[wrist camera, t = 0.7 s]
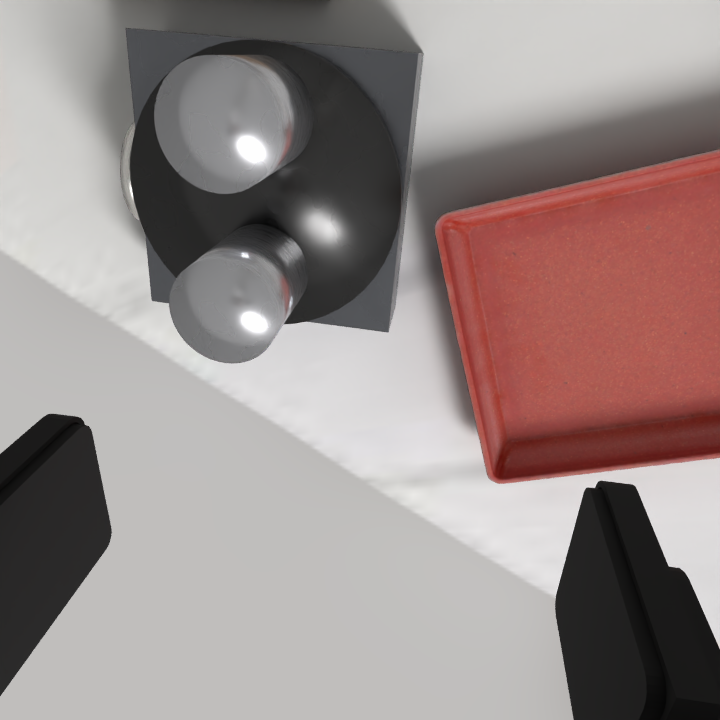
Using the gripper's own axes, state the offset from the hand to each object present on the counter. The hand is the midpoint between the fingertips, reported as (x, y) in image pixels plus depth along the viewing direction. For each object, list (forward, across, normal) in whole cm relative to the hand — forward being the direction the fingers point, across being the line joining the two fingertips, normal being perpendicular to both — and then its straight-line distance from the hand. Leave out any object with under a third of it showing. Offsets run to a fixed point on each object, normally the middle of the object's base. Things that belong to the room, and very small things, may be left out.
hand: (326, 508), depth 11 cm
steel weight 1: (+21, +7, -5) cm, 23 cm away
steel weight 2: (+21, +8, +3) cm, 22 cm away
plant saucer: (+26, -12, +6) cm, 30 cm away
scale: (+26, +8, -1) cm, 27 cm away
